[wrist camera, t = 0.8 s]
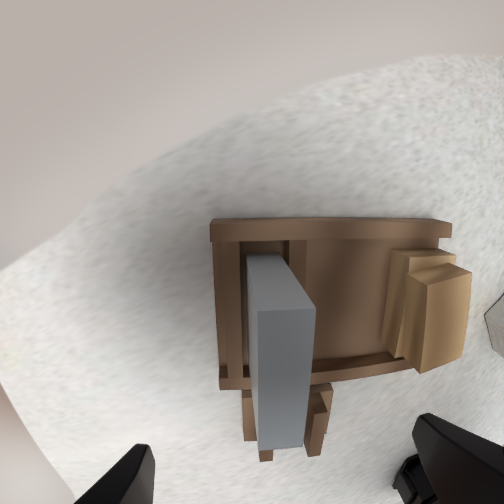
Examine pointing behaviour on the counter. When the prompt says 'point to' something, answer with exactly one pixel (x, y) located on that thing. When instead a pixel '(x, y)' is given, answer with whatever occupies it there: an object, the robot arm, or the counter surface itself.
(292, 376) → the gray rectangular block
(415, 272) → the offcut
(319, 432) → the stand
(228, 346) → the rack
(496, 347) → the skincare box
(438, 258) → the offcut
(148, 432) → the counter surface
